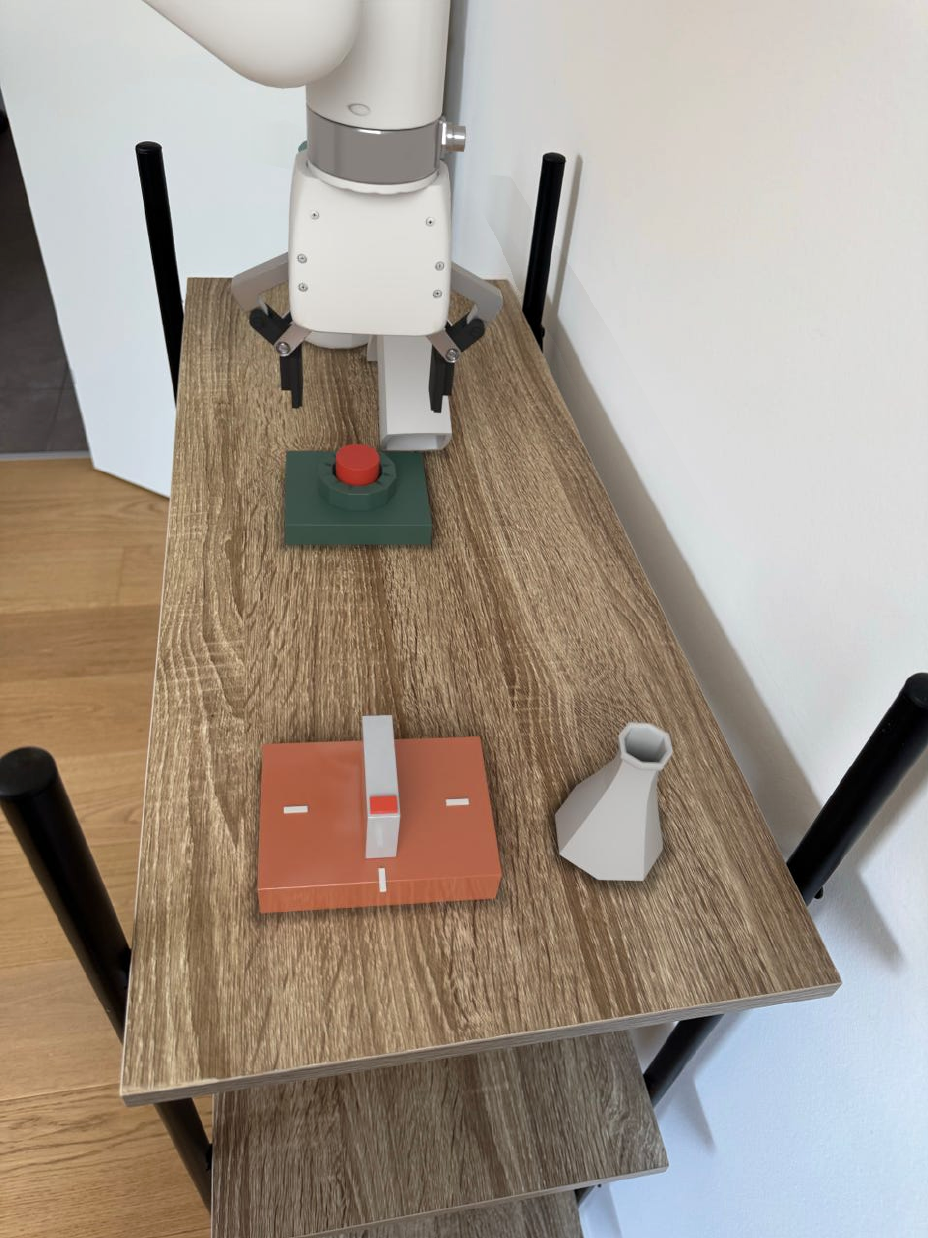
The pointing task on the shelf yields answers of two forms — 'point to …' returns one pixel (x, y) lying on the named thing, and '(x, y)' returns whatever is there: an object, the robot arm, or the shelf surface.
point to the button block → (356, 502)
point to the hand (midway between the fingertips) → (366, 399)
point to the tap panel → (334, 827)
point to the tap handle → (379, 787)
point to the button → (357, 464)
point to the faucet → (407, 395)
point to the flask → (618, 809)
